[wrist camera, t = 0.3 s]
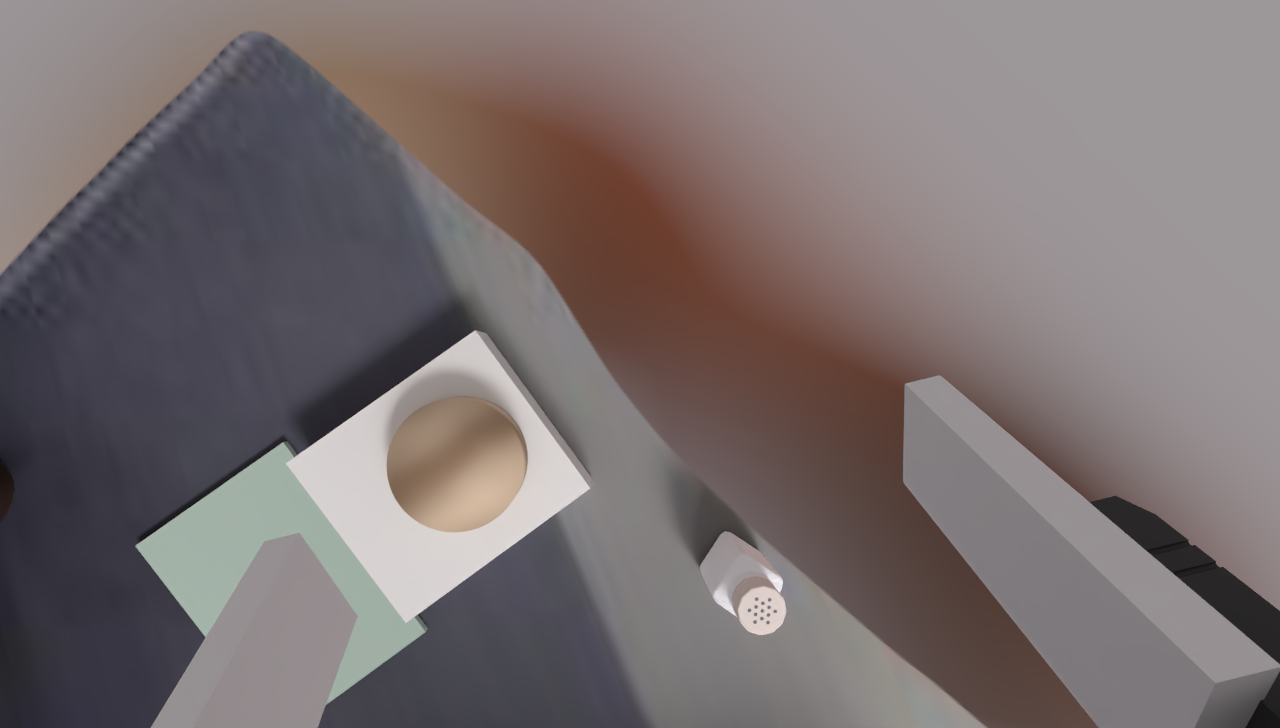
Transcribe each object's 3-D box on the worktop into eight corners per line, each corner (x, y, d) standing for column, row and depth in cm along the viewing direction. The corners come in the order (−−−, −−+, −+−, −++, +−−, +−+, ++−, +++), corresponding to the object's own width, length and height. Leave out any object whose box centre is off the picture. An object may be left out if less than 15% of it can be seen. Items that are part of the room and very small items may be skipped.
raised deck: (591, 477, 46) (590, 488, 42) (423, 600, 45) (405, 623, 41) (486, 333, 45) (475, 330, 41) (314, 454, 44) (285, 463, 40)
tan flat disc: (552, 472, 42) (550, 479, 39) (448, 548, 41) (439, 559, 39) (478, 371, 41) (471, 371, 39) (373, 445, 41) (358, 450, 38)
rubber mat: (427, 628, 45) (425, 631, 44) (286, 731, 44) (282, 736, 44) (287, 441, 44) (283, 442, 44) (141, 543, 44) (135, 545, 43)
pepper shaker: (736, 594, 47) (770, 653, 37) (695, 568, 46) (719, 620, 37) (763, 553, 47) (804, 601, 37) (722, 526, 46) (753, 567, 37)
